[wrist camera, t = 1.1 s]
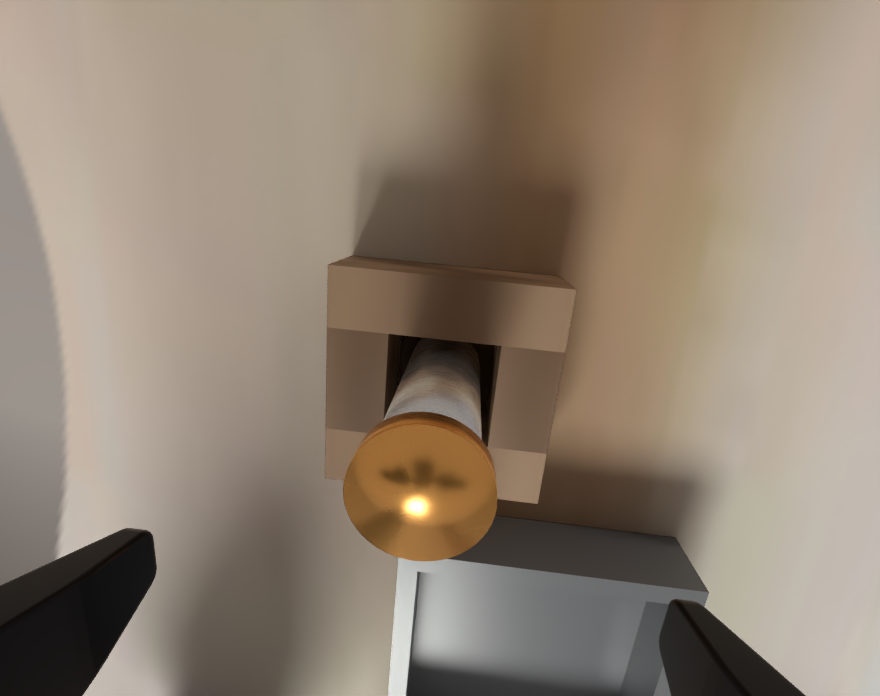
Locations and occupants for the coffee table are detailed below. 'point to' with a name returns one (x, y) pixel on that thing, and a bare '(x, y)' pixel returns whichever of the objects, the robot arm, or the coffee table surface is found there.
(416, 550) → the lock pin
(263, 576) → the coffee table surface
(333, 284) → the block
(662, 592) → the tray
